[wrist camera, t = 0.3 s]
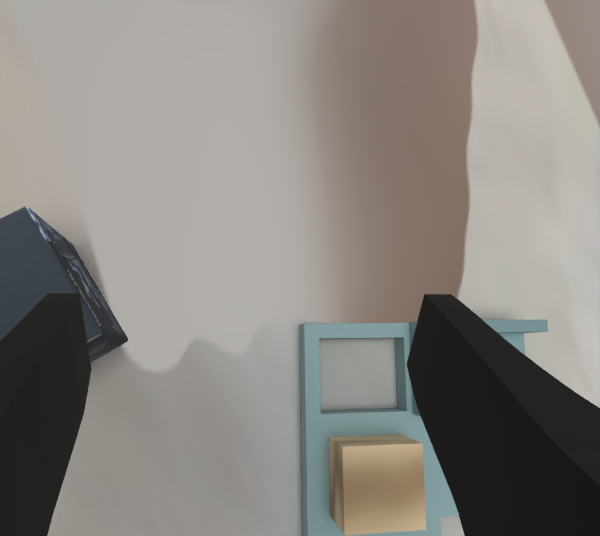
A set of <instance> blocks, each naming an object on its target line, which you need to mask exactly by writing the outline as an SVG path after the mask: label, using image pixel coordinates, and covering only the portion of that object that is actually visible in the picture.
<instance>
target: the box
mask: <svg viewBox="0 0 600 536" xmlns="http://www.w3.org/2000/svg"><path fill="white" fill-rule="evenodd" d="M48 293H80V297H81V304H82V311H83V317H84V324H85V331H86V337H87V344H88V351H89V358H90V362H92V361H94V360H95V359H97V358H99V357H101V356H102V355H104V354H106V353H108V352H109V351H111V350H113V349H115V348H116V347H118V346H120V345H122V344H124V343H125V342H127V341H128V338H127V336H126V335H125V333H124V331H123V330H122V328H121V327H120V325H119V323H118V322H117V320H116V318H115V316H114V315H113V313H112V311H111V310H110V308H109V306H108V305H107V303H106V301H105V300H104V298H103V296H102V295H101V293H100V291H99V289H98V288H97V286H96V284H95V282H94V281H93V279H92V278H91V276H90V274H89V273H88V271H87V269H86V268H85V266H84V263H83V262H82V260H81V259H80V257H79V255H78V253H77V251H76V250H75V248H74V246H73V245H72V244H71V243H70V242H69V241H67V240H66V239H65V238H64V237H63V236H62V235H61V234H59V233H58V232H57V231H55V230H54V229H53V228H52V227H51V226H49V225H48V224H47V223H46V222H45V221H43V220H42V219H41V218H40V217H39V216H38V215H37V214H35V213H34V212H33V211H32V210H31V209H30V208H29V207H27V206H25V207H23V208H21V209H19V210H17V211H15V212H13V213H11V214H9V215H7V216H5V217H3V218H1V219H0V340H2V339H3V338H4V337H5V336H6V335H7V334H8V333H9V332H10V331H11V330H12V329H13V328H14V327H15V326H16V325H17V324H18V323H19V322H20V321H21V320H22V319H23V318H24V316H25V315H26V314H27V313H28V312H29V311H30V310H31V309H32V308H33V307H34V306H35V305H36V304H37V303H38V302H39V301H40V300H41V299H42V298H43V297H45V296H46V295H47V294H48Z"/></svg>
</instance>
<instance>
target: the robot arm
mask: <svg viewBox="0 0 600 536" xmlns="http://www.w3.org/2000/svg"><path fill="white" fill-rule="evenodd" d="M407 369H408V373H409V377H410V382H411V386H412V390H413V394H414V398H415V401H416V405H417V408H418V410H419V413H420V416H421V418H422V421H423V423H424V426H425V429H426V431H427V434H428V436H429V439H430V441H431V444H432V446H433V449H434V451H435V454H436V456H437V459H438V461H439V464H440V466H441V469H442V471H443V474H444V476H445V479H446V481H447V484H448V486H449V489H450V491H451V494H452V497H453V499H454V502H455V505H456V508H457V511H458V514H459V517H460V520H461V524H462V527H463V531H464V534H465V536H600V408H599V407H597V406H595V405H594V404H592V403H591V402H589V401H588V400H586V399H584V398H583V397H581V396H580V395H578V394H577V393H575V392H574V391H572V390H571V389H570V388H568V387H567V386H565V385H564V384H562V383H561V382H560V381H558V380H557V379H556V378H554V377H553V376H552V375H550V374H549V373H548V372H546V371H545V370H543V369H542V368H541V367H539V366H538V365H537V364H536V363H534V362H533V361H532V360H530V359H529V358H528V357H527V356H525V355H524V354H523V353H522V352H520V351H519V350H518V349H517V348H515V347H514V346H513V345H512V344H510V343H509V342H508V341H507V340H506V339H504V338H503V337H502V336H501V335H500V334H498V333H497V332H496V331H495V330H494V329H492V328H491V327H490V326H489V325H488V324H487V323H485V322H484V321H483V320H482V319H481V318H479V317H478V316H477V315H476V314H475V313H474V312H472V311H471V310H470V309H469V308H468V307H466V306H465V305H464V304H463V303H462V302H460V301H459V300H458V299H456V298H455V297H454V296H452V295H450V294H448V295H447V294H446V295H444V294H442V295H441V294H437V295H436V294H425V295H424V298H423V302H422V306H421V310H420V314H419V318H418V321H417V325H416V329H415V333H414V337H413V341H412V345H411V349H410V352H409V356H408V360H407ZM90 374H91V364H90V358H89V351H88V344H87V337H86V331H85V324H84V317H83V311H82V304H81V297H80V293H48V294H47V295H46V296H45V297H43V298H42V299H41V300H40V301H39V302H38V303H37V304H36V305H35V306H34V307H33V308H32V309H31V310H30V311H29V312H28V313H27V314H26V315H25V316H24V318H23V319H22V320H21V321H20V322H19V323H18V324H17V325H16V326H15V327H14V328H13V329H12V330H11V331H10V332H9V333H8V334H7V335H6V336H5V337H4V338H3V339H2V340H0V536H47V534H48V530H49V527H50V523H51V519H52V515H53V512H54V509H55V506H56V502H57V499H58V496H59V493H60V489H61V486H62V483H63V480H64V477H65V473H66V470H67V467H68V464H69V460H70V457H71V454H72V451H73V447H74V444H75V441H76V438H77V434H78V431H79V428H80V424H81V421H82V418H83V414H84V409H85V403H86V398H87V392H88V386H89V380H90Z"/></svg>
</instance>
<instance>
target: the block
mask: <svg viewBox="0 0 600 536" xmlns="http://www.w3.org/2000/svg"><path fill="white" fill-rule="evenodd" d="M329 484H330V517H331V518H332V519H333V521H334V522H335V523H336V525H337V526H338V527H339V529H340V530H341V531H342V533H343V534H344V535H358V534H373V533H388V532H402V531H417V530H426V510H425V488H424V465H423V443H421V442H418V441H416V440H414V439H411V438H409V437H407V436H404V435H402V434H391V435H366V436H341V437H329Z"/></svg>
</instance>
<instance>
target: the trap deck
mask: <svg viewBox="0 0 600 536" xmlns="http://www.w3.org/2000/svg"><path fill="white" fill-rule="evenodd" d="M483 321H484V322H485V323H487V324H488V325H489V326H490V327H491V328H492V329H494V330H495V331H496V332H497V333H498V334H500V335H501V336H502V337H503V338H504V339H506V340H507V341H508V342H509V343H510V344H512V345H513V346H514V347H515V348H517V349H518V350H519V351H520V352H522V353H523V354H524V355H525V344H524V333H533V332H548V326H547V320H483ZM416 325H417V322H411V323H320V324H301V325H300V381H301V448H302V514H303V536H441V530H440V517H451V516H459V514H458V511H457V508H456V505H455V502H454V499H453V497H452V494H451V491H450V489H449V486H448V484H447V481H446V479H445V476H444V474H443V471H442V469H441V466H440V464H439V461H438V459H437V456H436V454H435V451H434V449H433V446H432V444H431V441H430V439H429V436H428V434H427V431H426V429H425V426H424V423H423V421H422V418H421V416H420V413H419V410H418V408H417V405H416V401H415V398H414V394H413V390H412V386H411V382H410V377H409V373H408V369H407V360H408V356H409V352H410V349H411V345H412V341H413V337H414V333H415V329H416ZM351 338H395V357H396V383H397V408H391V409H361V410H330V411H321V407H320V357H319V339H351ZM391 434H402V435H404V436H407V437H409V438H411V439H414V440H416V441H418V442H421V443H423V465H424V488H425V510H426V530H417V531H402V532H388V533H373V534H358V535H344V534H343V533H342V531H341V530H340V529H339V527H338V526H337V525H336V523H335V522H334V521H333V519H332V518H331V517H330V484H329V437H341V436H366V435H391Z"/></svg>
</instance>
